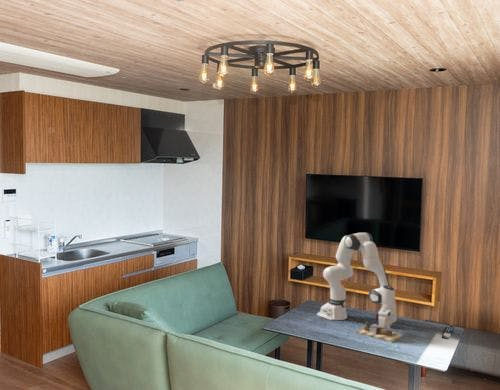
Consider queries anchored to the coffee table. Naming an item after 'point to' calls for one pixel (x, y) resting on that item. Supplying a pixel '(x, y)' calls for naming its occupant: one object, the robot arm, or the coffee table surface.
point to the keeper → (373, 328)
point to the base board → (381, 335)
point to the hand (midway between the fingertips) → (387, 331)
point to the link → (378, 330)
